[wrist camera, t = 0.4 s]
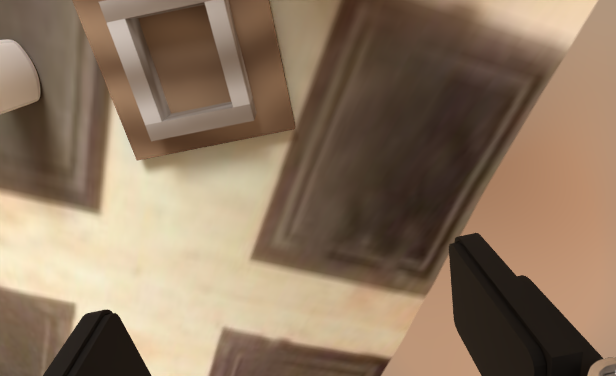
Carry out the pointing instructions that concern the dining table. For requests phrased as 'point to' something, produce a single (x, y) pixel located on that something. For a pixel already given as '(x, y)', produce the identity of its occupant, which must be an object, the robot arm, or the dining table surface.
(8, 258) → the dining table surface
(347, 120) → the dining table surface
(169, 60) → the bottle stand
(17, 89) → the eye dropper bottle
